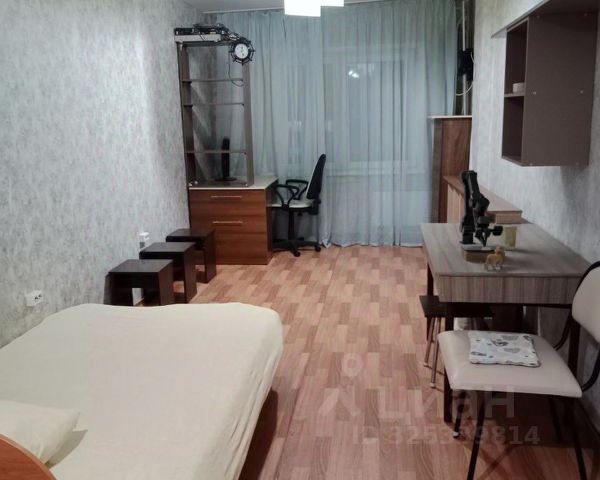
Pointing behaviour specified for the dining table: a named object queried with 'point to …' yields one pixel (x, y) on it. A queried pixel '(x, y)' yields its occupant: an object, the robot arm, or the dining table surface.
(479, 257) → the walnut box
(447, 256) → the dining table surface
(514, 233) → the skincare box
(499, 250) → the lion figurine
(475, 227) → the robot arm
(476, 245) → the lid
